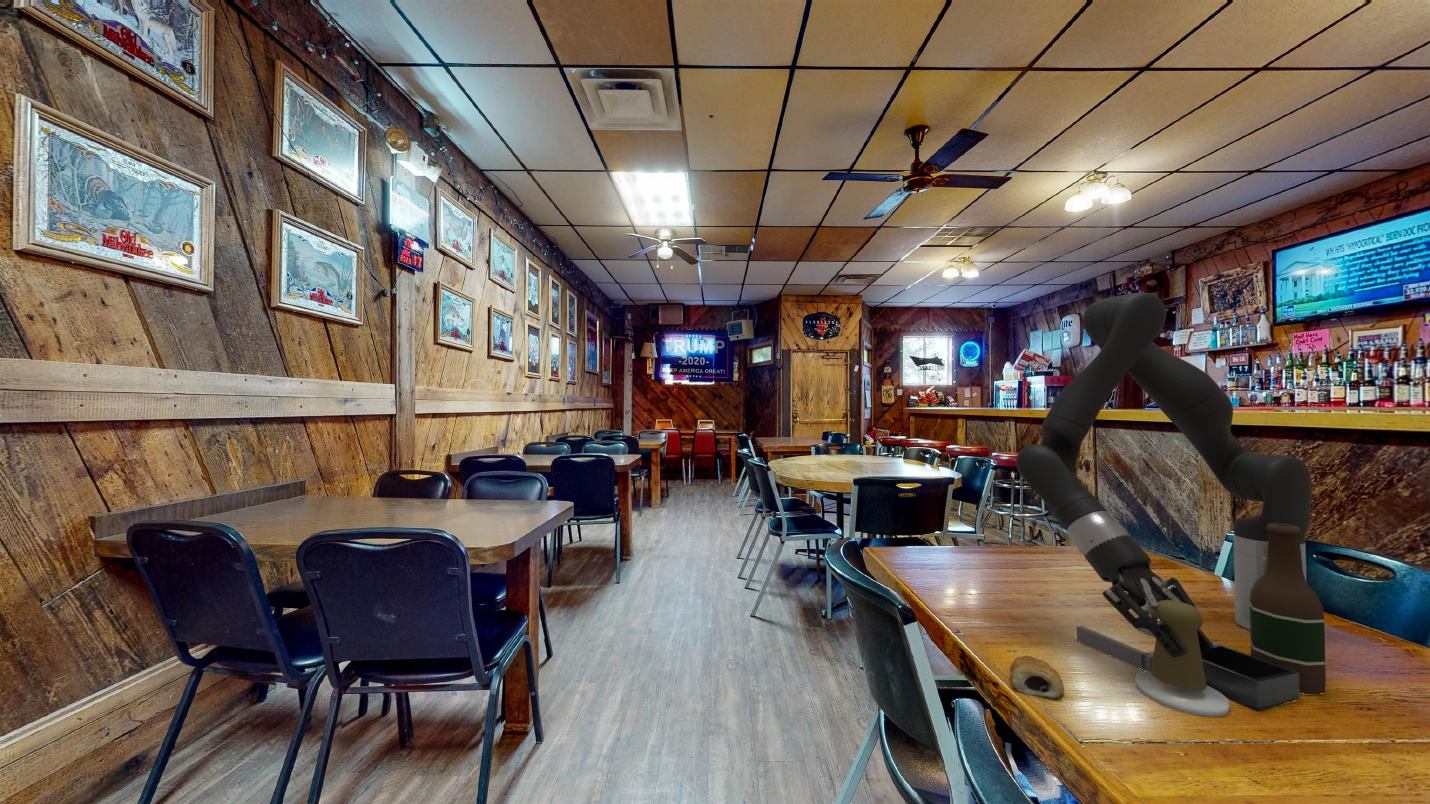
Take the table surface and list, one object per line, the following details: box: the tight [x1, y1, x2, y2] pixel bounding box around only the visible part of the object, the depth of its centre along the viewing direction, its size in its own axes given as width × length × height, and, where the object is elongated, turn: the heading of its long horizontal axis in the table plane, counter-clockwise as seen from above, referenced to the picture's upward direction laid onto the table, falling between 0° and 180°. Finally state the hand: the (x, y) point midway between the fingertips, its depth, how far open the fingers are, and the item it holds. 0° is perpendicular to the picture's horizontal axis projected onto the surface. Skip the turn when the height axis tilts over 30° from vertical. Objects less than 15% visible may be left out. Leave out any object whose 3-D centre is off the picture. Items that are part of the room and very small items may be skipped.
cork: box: [1151, 600, 1207, 691], centre depth 73 cm, size 6×6×11 cm
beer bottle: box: [1249, 523, 1327, 694], centre depth 77 cm, size 8×8×24 cm
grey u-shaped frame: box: [1076, 616, 1219, 672], centre depth 87 cm, size 16×12×2 cm
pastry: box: [1009, 655, 1065, 699], centre depth 77 cm, size 9×7×4 cm
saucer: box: [1135, 671, 1230, 718], centre depth 73 cm, size 10×10×1 cm
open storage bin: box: [1201, 643, 1301, 712], centre depth 75 cm, size 9×9×4 cm
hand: (1193, 652), depth 71 cm, fingers closed on cork, 4 cm apart
